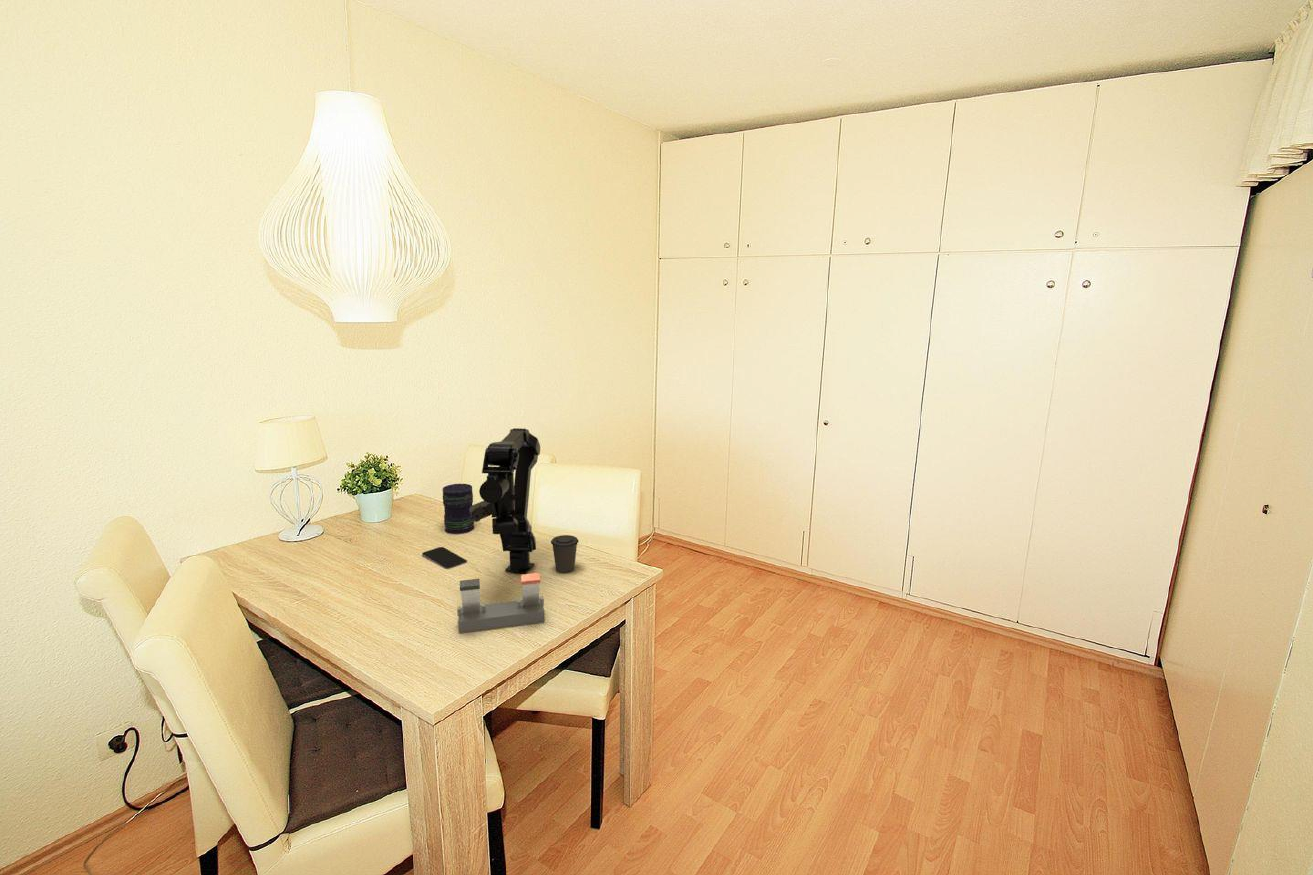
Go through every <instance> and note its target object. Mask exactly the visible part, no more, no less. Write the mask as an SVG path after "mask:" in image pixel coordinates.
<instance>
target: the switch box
mask: <svg viewBox="0 0 1313 875" xmlns="http://www.w3.org/2000/svg"><path fill="white" fill-rule="evenodd" d="M544 606H545V599H544V596H543V595H541V596H540V595H539V605H531V606H522V599H521V598H517V599H516V600H511V601H510V600H509V601H502V602H495V603H493V602H492V603H486V602H482V603H481V604H480V612H473V613H465V614H463V610H462V605H457V609H456V610H457V617H458V620H457V626H458V634H464V633H465V634H466V633H472V632H481V631H487V630H489V631H490V630H496V629H502V628H511V627H518V626H525V625H533V624H539V623H545V608H544Z"/></svg>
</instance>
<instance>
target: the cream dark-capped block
mask: <svg viewBox="0 0 1313 875" xmlns="http://www.w3.org/2000/svg"><path fill="white" fill-rule="evenodd" d="M480 582H481V581H480V578H474V579H472V578H471V579H463V580H459V592H460V595H461V607H462V610H463V614H465V613H473V612H480V605H481V600H480V597H481V596H480V588H481V587H480Z"/></svg>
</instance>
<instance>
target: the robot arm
mask: <svg viewBox="0 0 1313 875" xmlns="http://www.w3.org/2000/svg"><path fill="white" fill-rule="evenodd" d="M485 448H486V449H485V451H484V458H483V463H482V468H481V469H482V470H481V474H487V475H486V480H485V481H483V483H482V484H481V485H480V487H479V491H478V493H479V496H480V498H481V499H482V501H480V502H478V503H475V504H472V506H471V507H470V513H471V516H472V518H473V520H474V523H477V522H480V520H482V519H485V518H487V517H489V516H491V519H492V520H491V524H492V525H491V526H492V534H493V535H499V537H500V541H501V546H502V551H503V552H509V553H508V554H509V565H508V566H507V567H506V568H505V570H504V571H505V572H508V573H515V574H522V575H525V574H528V572H529V571H530V570H531V569H532V568H533V567H534V566H535V563H533V562H531V561H530V560H531V559H530V555H531V554H530V553H532V552H533V551H535V550H537V542H536V537H535V535H534V533H533V531H532V525H531V524H530V521H529V520H528V509H529V508H528V507H529V501H530V500H529V499H530V498H529V496H530V486H531V475H532V470H533V468H534V467H535V465H537V463H538V458H539V456H540V454H541V444H540V441H539V438H537V437H536V436H535V435H533V434H532V433H530V431H529V429H527V428H520V427H519V428H516V427H515V428H512V429H510V430H509V433H508V434H507V435H506V436H505V437H503V439H502V440H501V441H496V442H495V441H494V442H491V443H489V444H488V446H487V447H485Z"/></svg>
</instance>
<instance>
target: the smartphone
mask: <svg viewBox="0 0 1313 875" xmlns="http://www.w3.org/2000/svg"><path fill="white" fill-rule="evenodd" d="M421 556H422V558H424V559H426V560H429V561H430V562H432V563H434V564H435V565H436V566H439V567H441V568H443V569H445V570H450V569H453V568H456V567H459V566H462V565H465V564H466V563H468V560H467V559H465V558H463V557H462V556H460V555H458V554H457V553H454V552H453V551H451V550H449V549H447V548H445V547H444V546H439V547H435V548H433V549H430V550H425V551H423V552H422V553H421Z"/></svg>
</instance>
